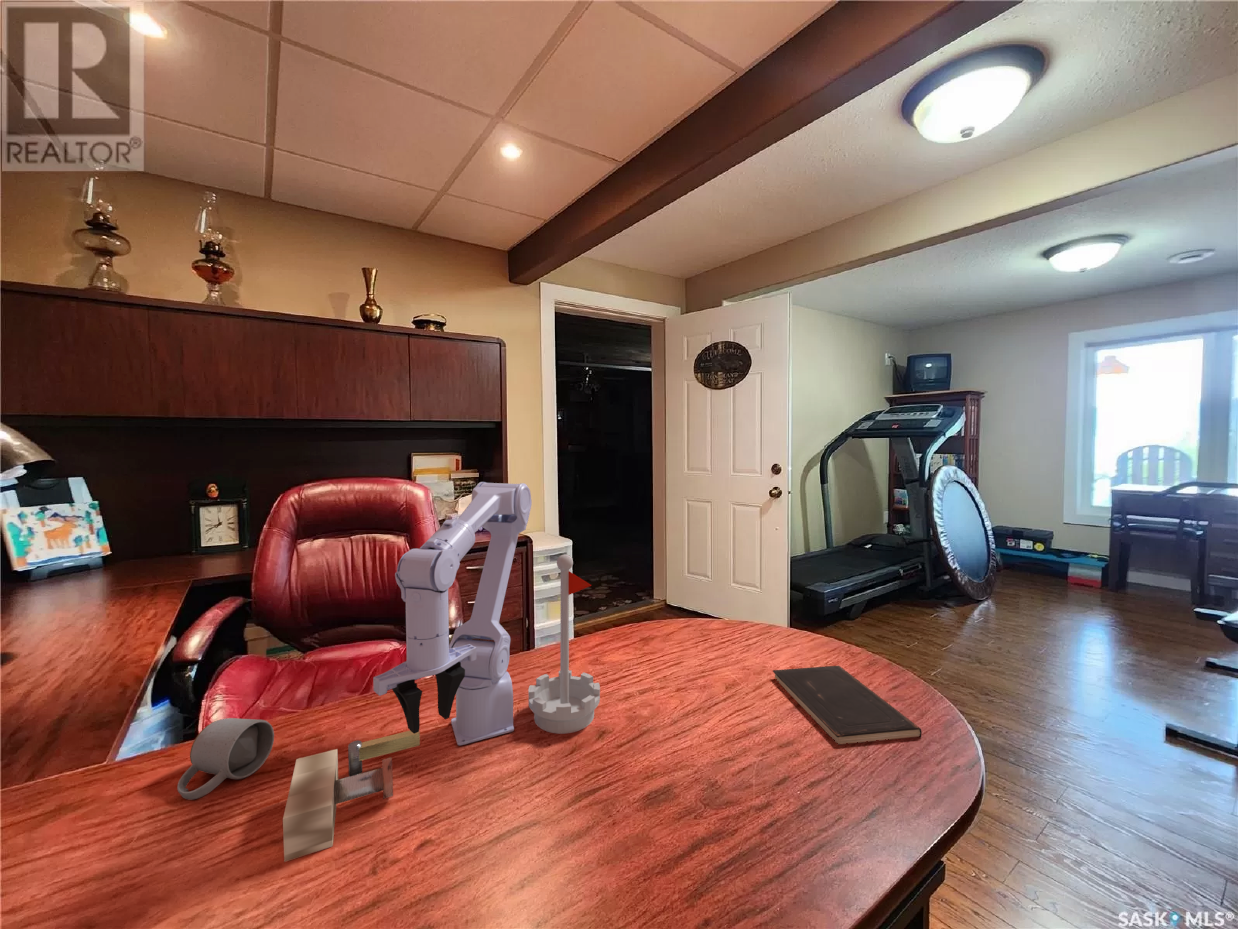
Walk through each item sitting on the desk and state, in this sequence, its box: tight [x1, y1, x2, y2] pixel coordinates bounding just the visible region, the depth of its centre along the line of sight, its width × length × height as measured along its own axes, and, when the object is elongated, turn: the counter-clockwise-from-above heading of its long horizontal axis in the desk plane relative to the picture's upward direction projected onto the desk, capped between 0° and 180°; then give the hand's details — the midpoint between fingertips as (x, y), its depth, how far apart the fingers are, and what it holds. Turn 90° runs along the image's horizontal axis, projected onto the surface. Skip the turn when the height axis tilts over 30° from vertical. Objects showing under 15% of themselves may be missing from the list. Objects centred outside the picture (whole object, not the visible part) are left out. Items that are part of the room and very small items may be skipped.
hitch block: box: [282, 748, 339, 863], centre depth 64 cm, size 5×12×5 cm, turn 27°
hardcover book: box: [772, 665, 923, 745], centre depth 94 cm, size 16×23×2 cm
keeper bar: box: [347, 730, 421, 777], centre depth 75 cm, size 10×2×5 cm, turn 117°
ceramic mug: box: [177, 717, 275, 801], centre depth 72 cm, size 11×8×8 cm
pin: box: [334, 757, 394, 805], centre depth 67 cm, size 8×5×5 cm, turn 117°
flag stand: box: [528, 553, 601, 735], centre depth 88 cm, size 13×13×30 cm
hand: (429, 722), depth 71 cm, fingers open, 4 cm apart
